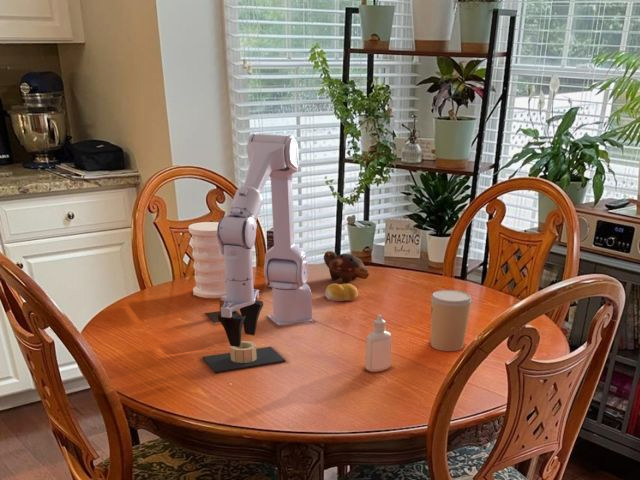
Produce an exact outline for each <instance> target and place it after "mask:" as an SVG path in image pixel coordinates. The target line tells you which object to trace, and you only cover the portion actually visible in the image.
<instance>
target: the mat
mask: <svg viewBox="0 0 640 480" xmlns="http://www.w3.org/2000/svg"><path fill="white" fill-rule="evenodd" d="M256 357H257V359H256V360H255V361H253V362H249V363H237V362H234V361H232V360H231V354H230V352H225V353H220V354H219V353H218V354H213V355H205V356H202V360H204V362H205V363H206V364H207V365H208V366H209V368H210V369H211V370H212V371H213V372H214V374H217V373H223V372H229V371H230V372H231V371H237V370H242V369H248V368H255V367H261V366H267V365H273V364H280V363H285V362H286V359H285V358H283V356H282V355H280V354H279V352H277V351H276V350H275V349H274V348H273V347H272V346H265V347H258V348H256Z"/></svg>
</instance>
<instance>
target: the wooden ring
mask: <svg viewBox="0 0 640 480" xmlns="http://www.w3.org/2000/svg"><path fill="white" fill-rule="evenodd" d="M256 349H257V343H255V342H253V341H250V340H249V341H248V340H241V345H240V346H239V347H235V346H230V345H229V351H230V352H229V353H230V354H231V360H232V361H234V362H237V363H249V362H253V361H255V360H256V359H257V357H256Z"/></svg>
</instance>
